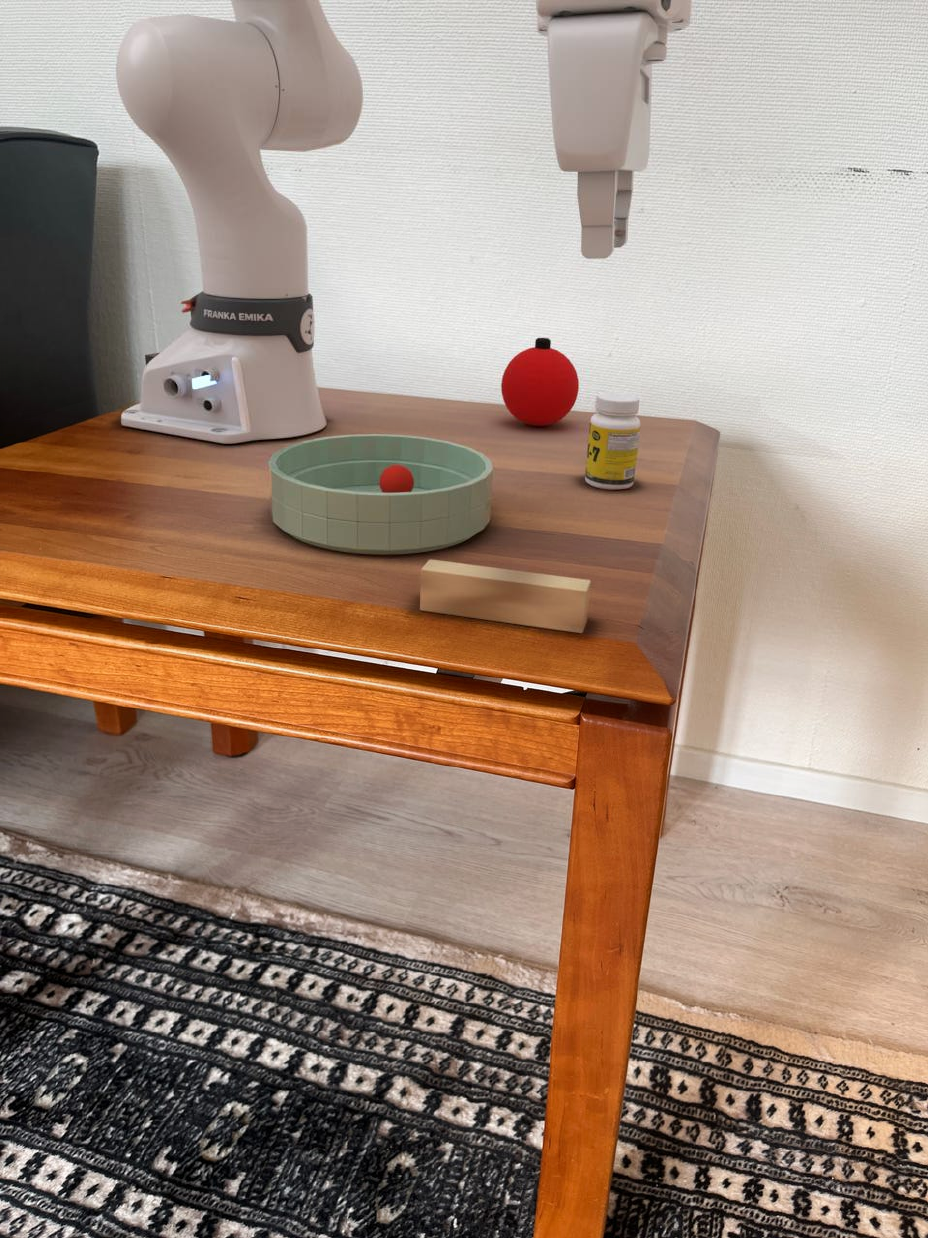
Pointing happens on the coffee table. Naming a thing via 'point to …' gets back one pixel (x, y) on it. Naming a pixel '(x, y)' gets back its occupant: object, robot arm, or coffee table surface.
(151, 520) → the coffee table surface
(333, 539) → the bowl
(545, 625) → the block
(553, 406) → the ornament
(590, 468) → the supplement bottle
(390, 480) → the ball
